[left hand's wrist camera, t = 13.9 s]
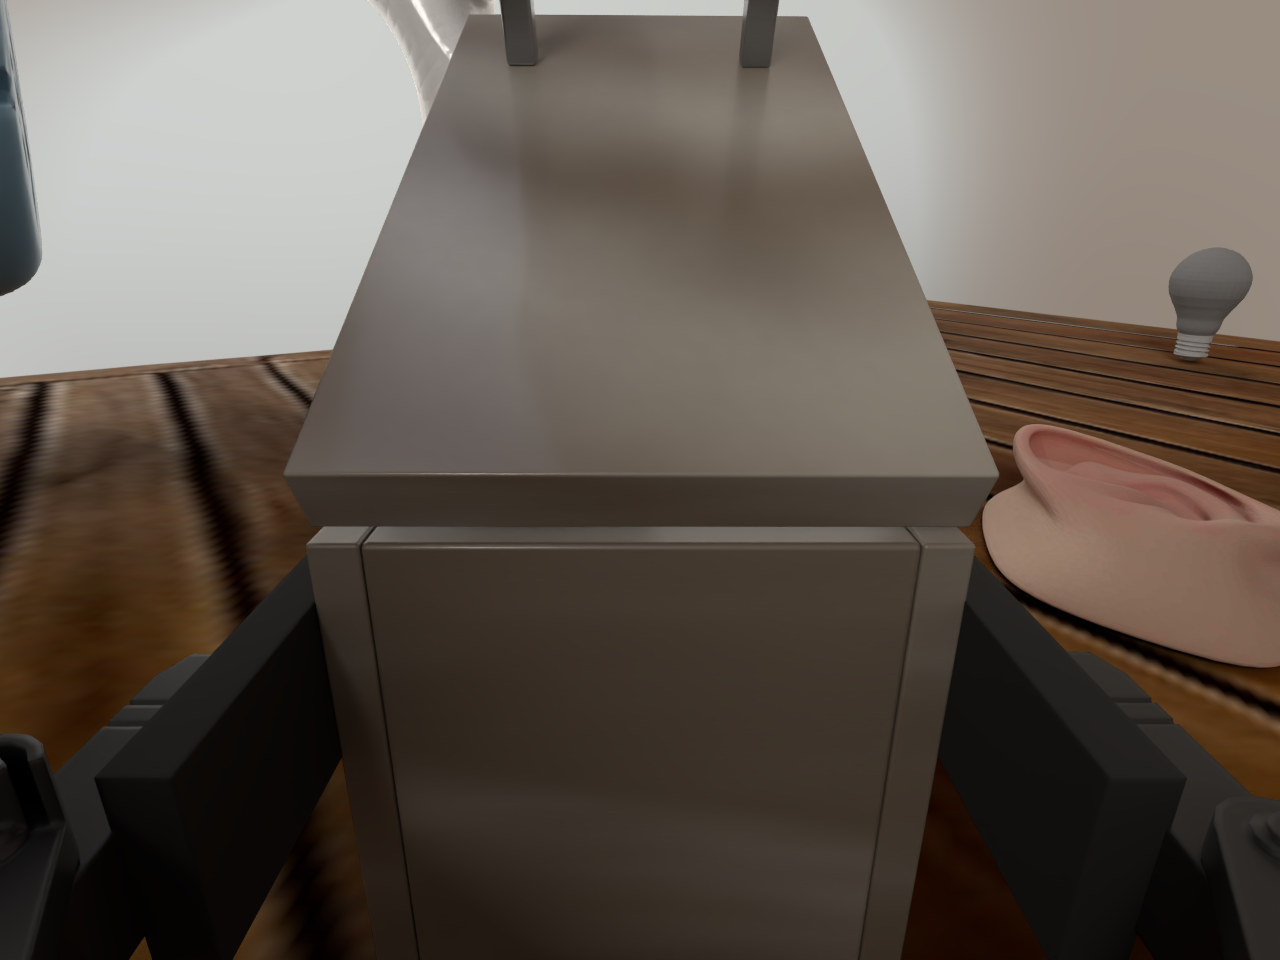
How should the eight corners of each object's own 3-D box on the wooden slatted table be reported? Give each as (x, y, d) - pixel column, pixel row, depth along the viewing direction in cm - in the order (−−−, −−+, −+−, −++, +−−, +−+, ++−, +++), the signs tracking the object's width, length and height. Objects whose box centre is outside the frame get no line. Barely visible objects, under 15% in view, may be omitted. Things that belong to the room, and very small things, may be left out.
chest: (514, 593, 28) (498, 342, 24) (758, 593, 28) (775, 343, 25) (385, 1017, 13) (303, 545, 10) (892, 1015, 13) (978, 545, 10)
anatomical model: (1432, 580, 20) (976, 503, 25) (1381, 701, 22) (958, 605, 27) (1302, 448, 31) (1003, 413, 36) (1274, 534, 32) (989, 489, 38)
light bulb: (1167, 364, 67) (1197, 249, 63) (1140, 352, 72) (1165, 245, 69) (1242, 367, 66) (1276, 250, 62) (1209, 354, 71) (1238, 246, 68)
